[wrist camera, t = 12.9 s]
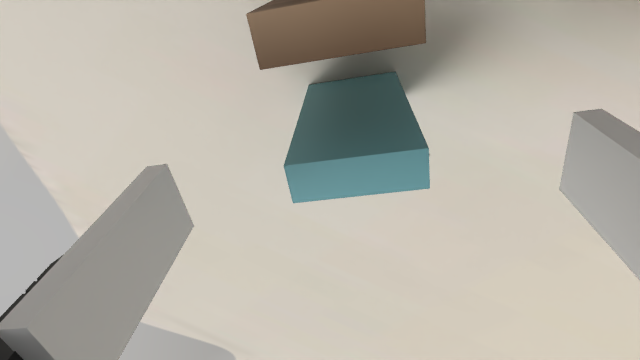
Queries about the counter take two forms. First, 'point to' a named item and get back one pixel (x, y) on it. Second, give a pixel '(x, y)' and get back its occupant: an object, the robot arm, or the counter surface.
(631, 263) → the robot arm
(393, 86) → the domino
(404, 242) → the counter surface
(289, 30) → the domino
